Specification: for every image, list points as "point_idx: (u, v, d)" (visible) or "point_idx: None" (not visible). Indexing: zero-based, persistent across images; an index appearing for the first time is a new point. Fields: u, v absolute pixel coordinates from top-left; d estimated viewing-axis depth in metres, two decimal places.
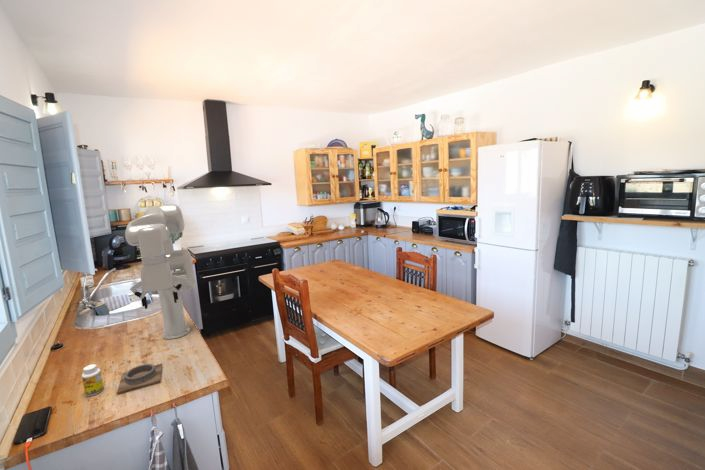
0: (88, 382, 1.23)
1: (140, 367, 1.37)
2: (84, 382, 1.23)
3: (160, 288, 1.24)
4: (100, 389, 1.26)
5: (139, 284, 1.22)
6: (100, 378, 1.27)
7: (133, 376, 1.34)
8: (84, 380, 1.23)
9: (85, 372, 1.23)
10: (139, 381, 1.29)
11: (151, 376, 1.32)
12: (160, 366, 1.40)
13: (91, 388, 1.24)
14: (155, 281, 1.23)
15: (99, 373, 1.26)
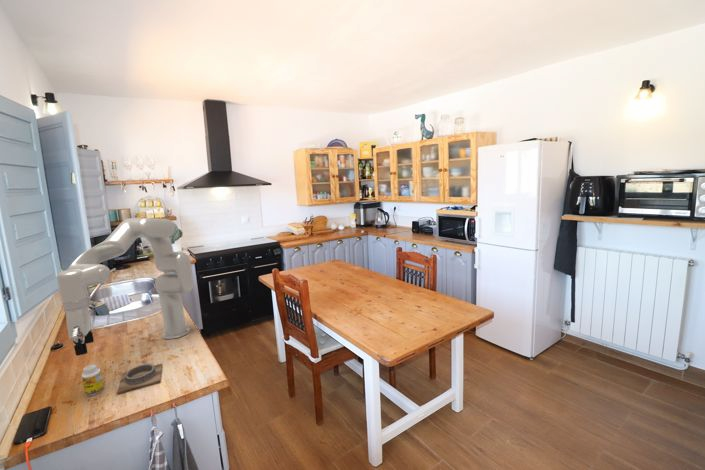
0: (88, 382, 1.23)
1: (140, 367, 1.37)
2: (84, 382, 1.23)
3: (89, 329, 1.24)
4: (100, 389, 1.26)
5: (78, 330, 1.17)
6: (100, 378, 1.27)
7: (133, 376, 1.34)
8: (84, 380, 1.23)
9: (85, 372, 1.23)
10: (139, 381, 1.29)
11: (151, 376, 1.32)
12: (160, 366, 1.40)
13: (91, 387, 1.24)
14: (88, 322, 1.23)
15: (99, 373, 1.26)
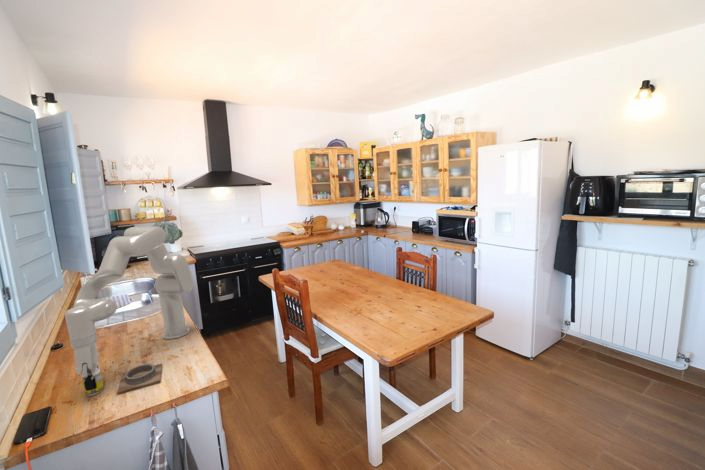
0: None
1: (140, 367, 1.37)
2: None
3: (96, 363, 1.27)
4: (100, 389, 1.26)
5: (87, 367, 1.21)
6: (100, 378, 1.27)
7: (133, 376, 1.34)
8: None
9: None
10: (139, 381, 1.29)
11: (151, 376, 1.32)
12: (160, 366, 1.40)
13: None
14: (95, 357, 1.25)
15: (99, 373, 1.26)
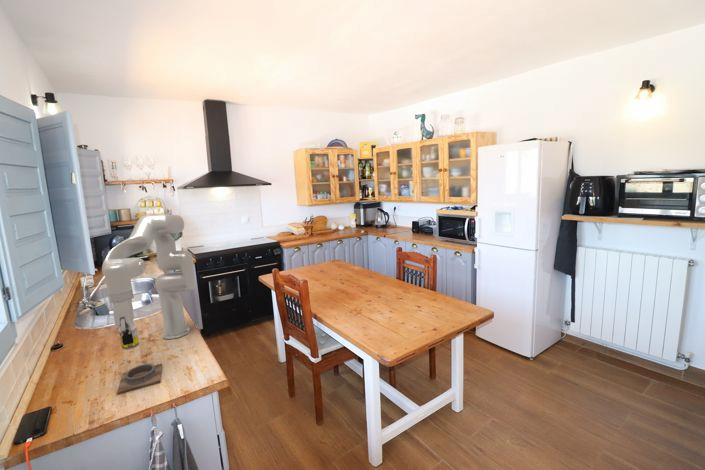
0: None
1: (140, 367, 1.37)
2: (121, 337, 1.27)
3: (133, 319, 1.30)
4: (136, 344, 1.30)
5: (125, 322, 1.24)
6: (136, 334, 1.30)
7: (133, 376, 1.34)
8: (121, 335, 1.27)
9: None
10: (139, 381, 1.29)
11: (151, 376, 1.32)
12: (160, 366, 1.40)
13: None
14: (132, 313, 1.29)
15: (135, 329, 1.30)
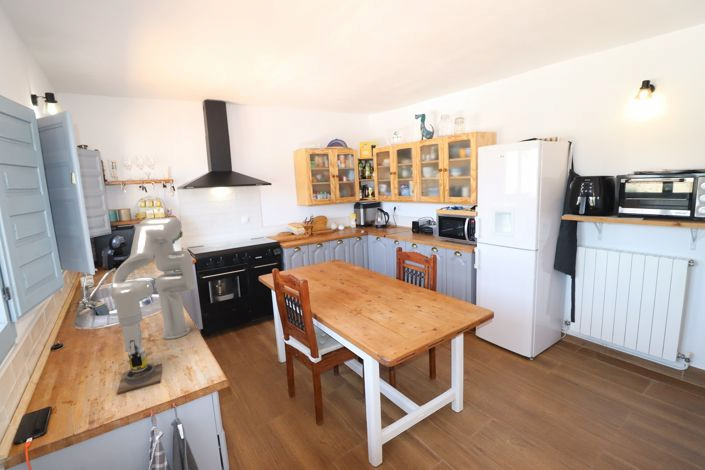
0: None
1: None
2: (130, 359, 1.29)
3: (141, 341, 1.32)
4: (145, 366, 1.32)
5: (134, 344, 1.26)
6: (145, 356, 1.32)
7: (133, 376, 1.34)
8: None
9: None
10: (139, 381, 1.29)
11: (151, 376, 1.32)
12: (160, 366, 1.40)
13: None
14: (140, 335, 1.31)
15: (144, 351, 1.32)
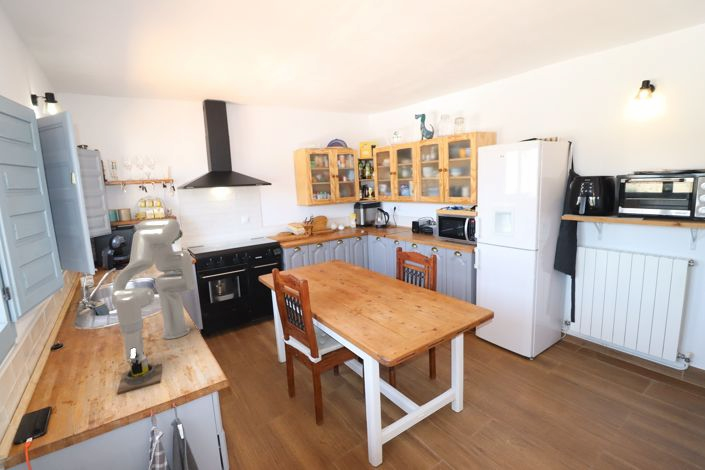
0: None
1: None
2: None
3: (142, 348, 1.33)
4: None
5: (135, 351, 1.26)
6: (146, 363, 1.33)
7: None
8: None
9: None
10: (139, 381, 1.29)
11: (151, 376, 1.32)
12: (160, 366, 1.40)
13: None
14: (142, 342, 1.31)
15: (145, 359, 1.33)
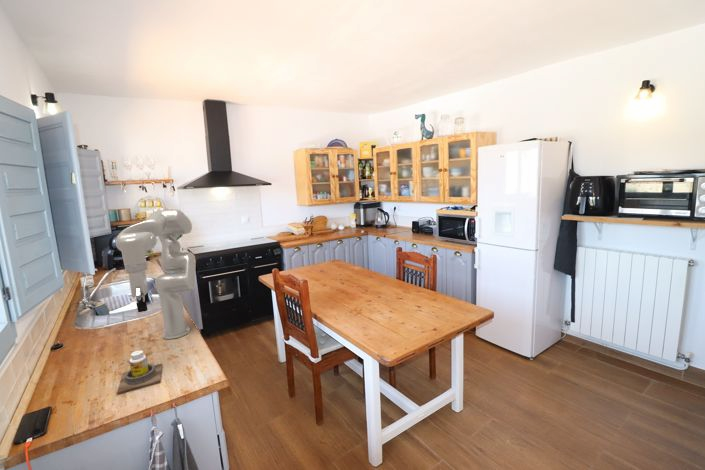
0: (136, 367, 1.30)
1: None
2: (132, 367, 1.30)
3: None
4: None
5: (140, 290, 1.32)
6: (146, 363, 1.33)
7: None
8: (132, 365, 1.30)
9: (133, 357, 1.30)
10: (139, 381, 1.29)
11: (151, 376, 1.32)
12: (160, 366, 1.40)
13: (138, 372, 1.30)
14: (146, 283, 1.38)
15: (145, 359, 1.33)
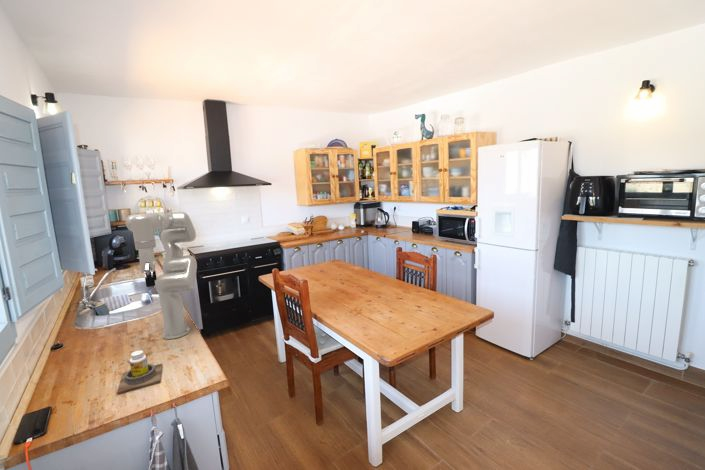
0: (136, 367, 1.30)
1: None
2: (132, 367, 1.30)
3: None
4: None
5: (148, 265, 1.40)
6: (146, 364, 1.33)
7: None
8: (132, 365, 1.30)
9: (133, 357, 1.30)
10: (139, 381, 1.29)
11: (151, 376, 1.32)
12: (160, 366, 1.40)
13: (138, 372, 1.30)
14: (154, 260, 1.45)
15: (145, 359, 1.33)
